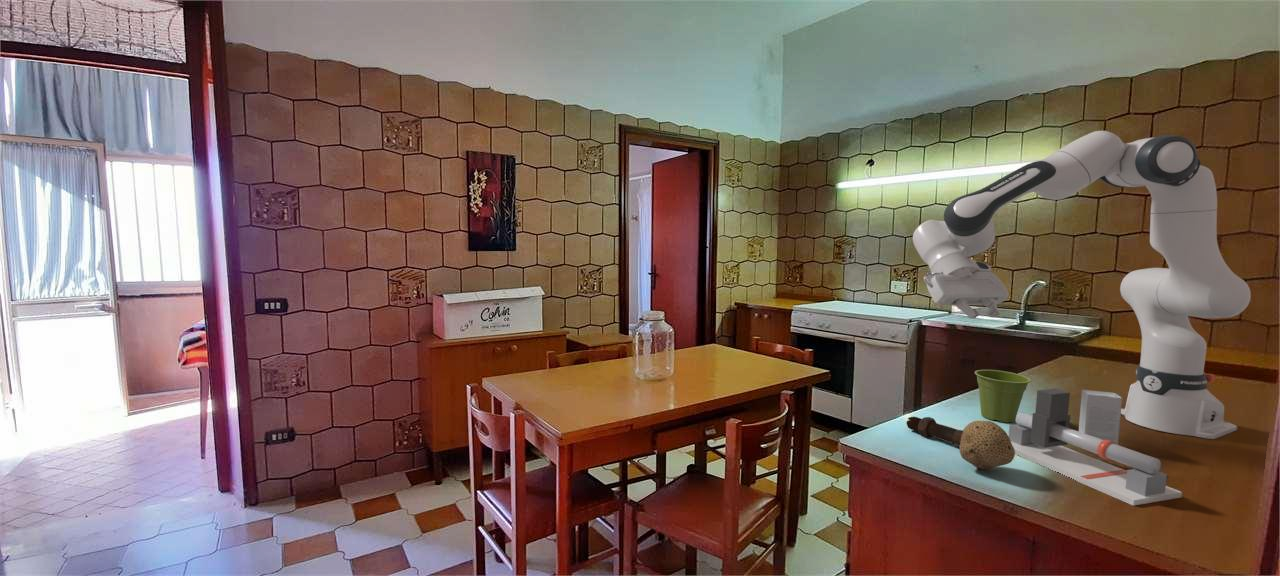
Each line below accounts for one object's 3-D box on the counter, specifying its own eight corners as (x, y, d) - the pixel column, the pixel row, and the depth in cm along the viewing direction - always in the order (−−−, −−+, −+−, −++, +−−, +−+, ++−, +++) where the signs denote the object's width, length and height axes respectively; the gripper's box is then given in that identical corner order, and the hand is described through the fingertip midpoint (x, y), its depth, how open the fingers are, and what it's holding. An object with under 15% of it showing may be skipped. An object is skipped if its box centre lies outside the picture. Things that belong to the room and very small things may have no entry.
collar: (1030, 442, 112) (1034, 390, 111) (1053, 439, 114) (1057, 388, 112) (1044, 447, 109) (1049, 394, 108) (1067, 444, 111) (1072, 392, 109)
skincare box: (1110, 443, 118) (1115, 392, 117) (1117, 450, 115) (1123, 397, 113) (1076, 439, 121) (1081, 388, 120) (1082, 445, 117) (1088, 394, 116)
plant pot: (1011, 429, 127) (1015, 384, 125) (961, 414, 137) (964, 372, 136) (1036, 421, 132) (1040, 378, 131) (986, 407, 143) (989, 367, 141)
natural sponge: (1021, 473, 103) (1025, 424, 102) (999, 484, 99) (1003, 433, 98) (972, 456, 111) (975, 411, 110) (949, 466, 106) (953, 419, 105)
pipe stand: (993, 444, 117) (996, 411, 116) (1034, 439, 120) (1037, 407, 119) (1133, 505, 91) (1137, 463, 90) (1181, 497, 94) (1186, 455, 94)
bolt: (911, 436, 127) (975, 458, 114) (899, 429, 125) (963, 450, 111) (919, 414, 128) (983, 433, 114) (908, 407, 126) (972, 425, 112)
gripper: (928, 264, 129) (958, 309, 120) (994, 264, 134) (1027, 307, 126) (913, 281, 133) (941, 325, 125) (977, 280, 139) (1008, 322, 130)
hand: (985, 316), depth 125 cm, fingers open, 5 cm apart
